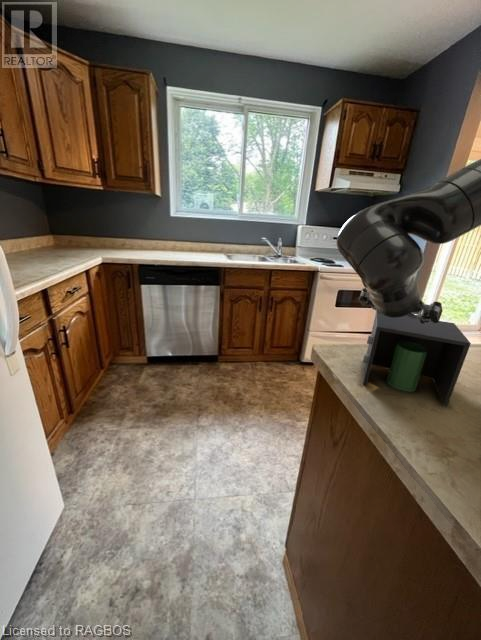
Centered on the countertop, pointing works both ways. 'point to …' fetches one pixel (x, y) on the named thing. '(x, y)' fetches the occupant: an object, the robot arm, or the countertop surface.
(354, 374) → the countertop surface
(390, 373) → the green cylinder
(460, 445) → the countertop surface
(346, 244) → the robot arm
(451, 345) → the dark grey open box
